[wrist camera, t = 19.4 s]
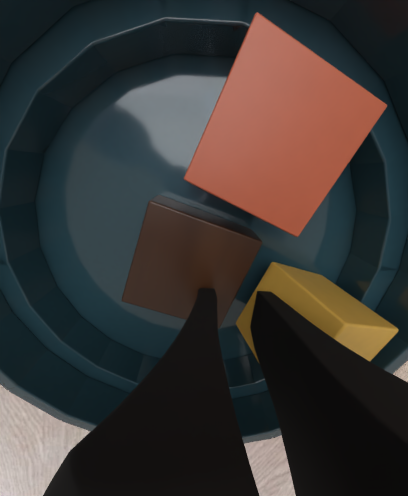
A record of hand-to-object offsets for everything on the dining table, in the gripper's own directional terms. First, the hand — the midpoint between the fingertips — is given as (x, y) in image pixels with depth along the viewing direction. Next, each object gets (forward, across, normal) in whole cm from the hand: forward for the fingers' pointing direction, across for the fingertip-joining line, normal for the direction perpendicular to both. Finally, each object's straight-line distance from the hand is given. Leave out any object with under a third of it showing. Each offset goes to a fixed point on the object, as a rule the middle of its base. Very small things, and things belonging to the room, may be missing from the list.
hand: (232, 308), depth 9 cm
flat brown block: (+2, +4, -2) cm, 5 cm away
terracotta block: (+2, 0, -7) cm, 7 cm away
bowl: (+3, +2, -2) cm, 4 cm away
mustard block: (+2, -3, 0) cm, 3 cm away
